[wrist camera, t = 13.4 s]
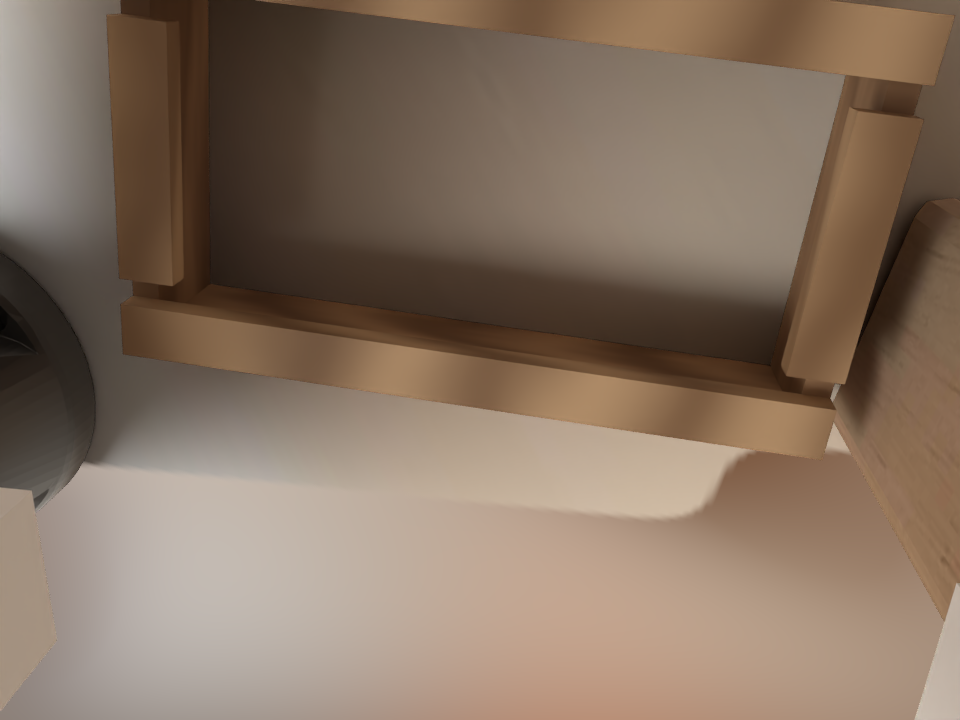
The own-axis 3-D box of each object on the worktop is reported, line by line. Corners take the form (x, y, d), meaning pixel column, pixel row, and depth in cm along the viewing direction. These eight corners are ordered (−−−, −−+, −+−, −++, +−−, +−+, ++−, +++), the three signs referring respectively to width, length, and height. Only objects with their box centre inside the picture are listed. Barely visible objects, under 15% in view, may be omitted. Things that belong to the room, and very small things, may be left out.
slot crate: (188, 302, 40) (122, 354, 34) (181, -77, 34) (101, -88, 28) (788, 390, 38) (822, 460, 32) (892, 9, 32) (955, 15, 27)
